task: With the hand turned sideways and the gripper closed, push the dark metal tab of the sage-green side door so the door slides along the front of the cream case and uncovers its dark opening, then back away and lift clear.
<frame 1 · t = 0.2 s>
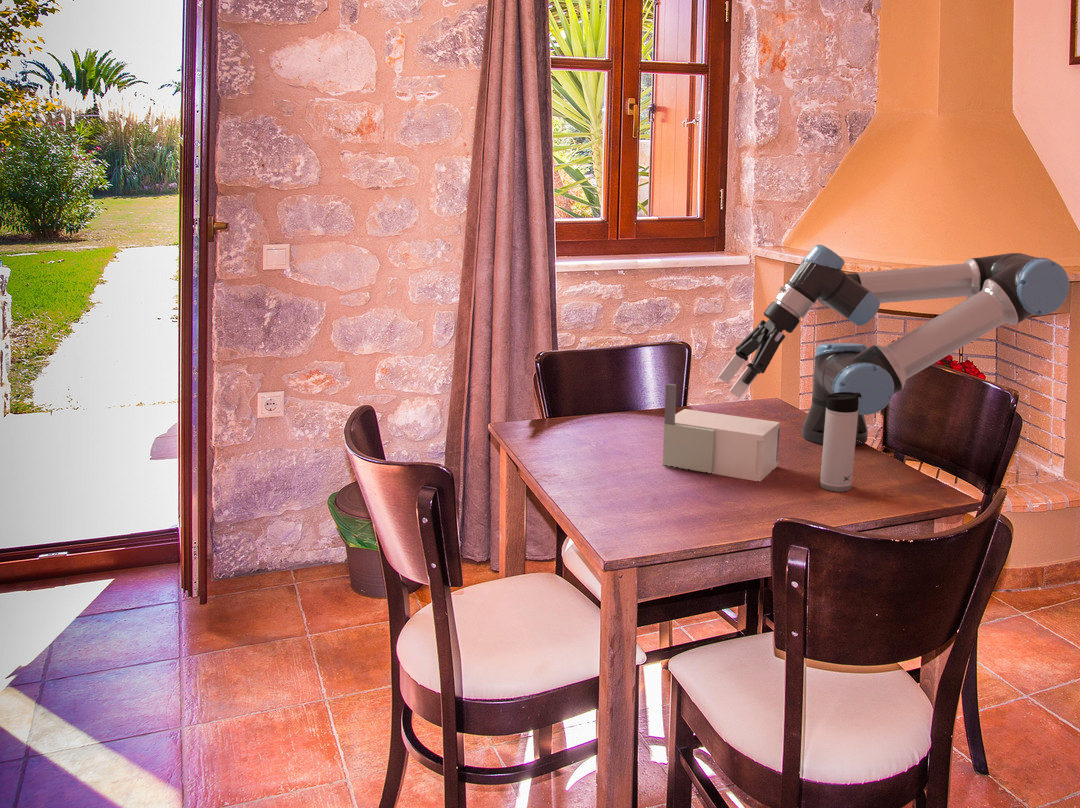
hand: (728, 387, 223), 16 cm above the table, tool tilted 35°, fingers open, 13 cm apart
side door: (689, 428, 212), point 10 cm above the table, slide at 0.0 cm
cream case: (719, 465, 218), on the table
travel mug: (836, 488, 205), on the table
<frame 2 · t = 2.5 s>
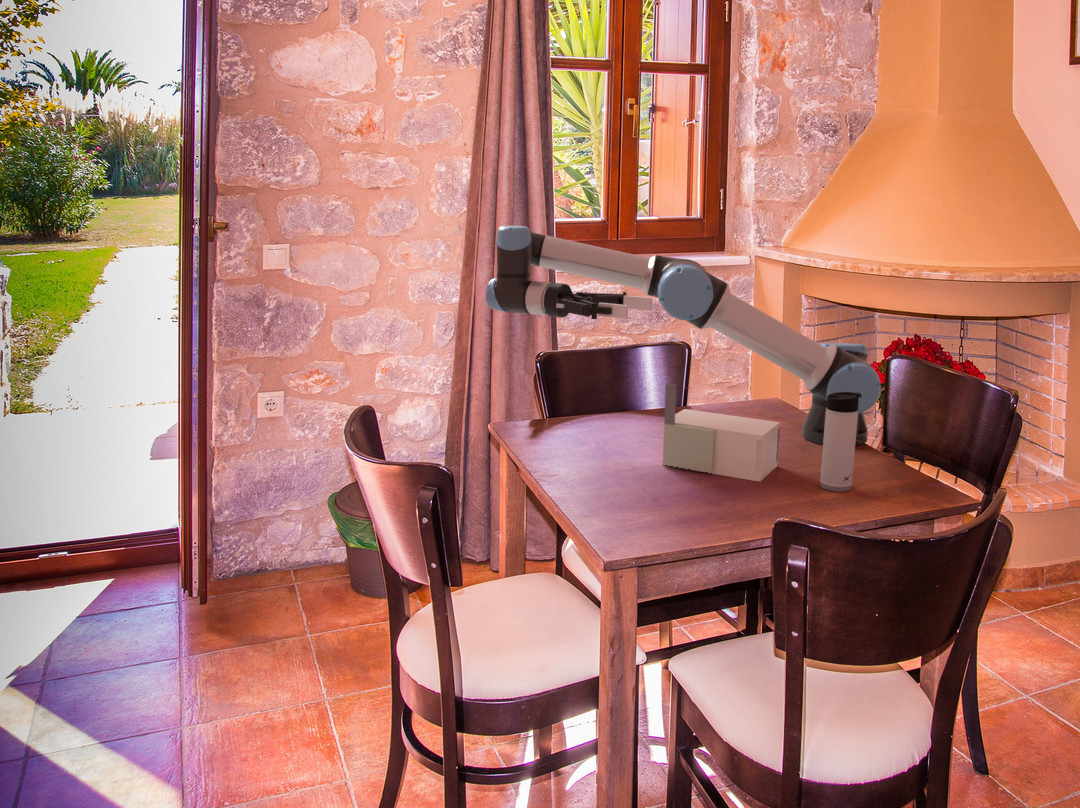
hand: (639, 308, 212), 34 cm above the table, tool horizontal, fingers open, 12 cm apart
nothing on the table moved.
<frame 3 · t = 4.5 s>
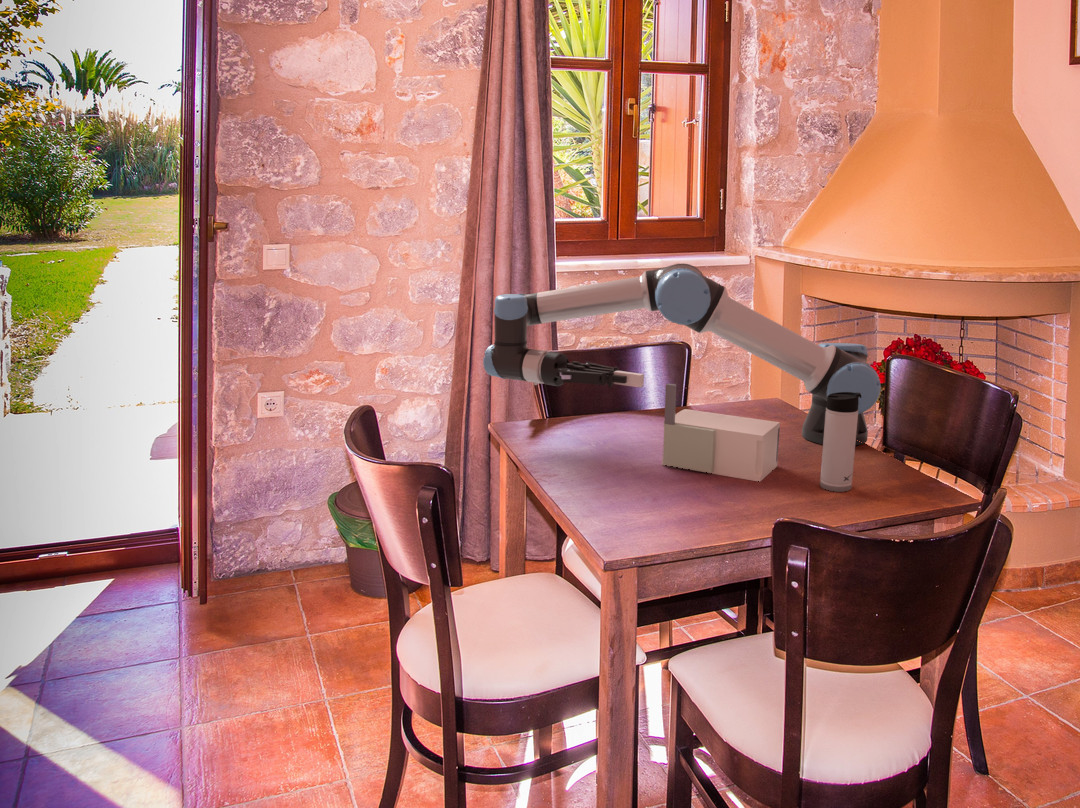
hand: (642, 380, 215), 19 cm above the table, tool horizontal, fingers closed
nothing on the table moved.
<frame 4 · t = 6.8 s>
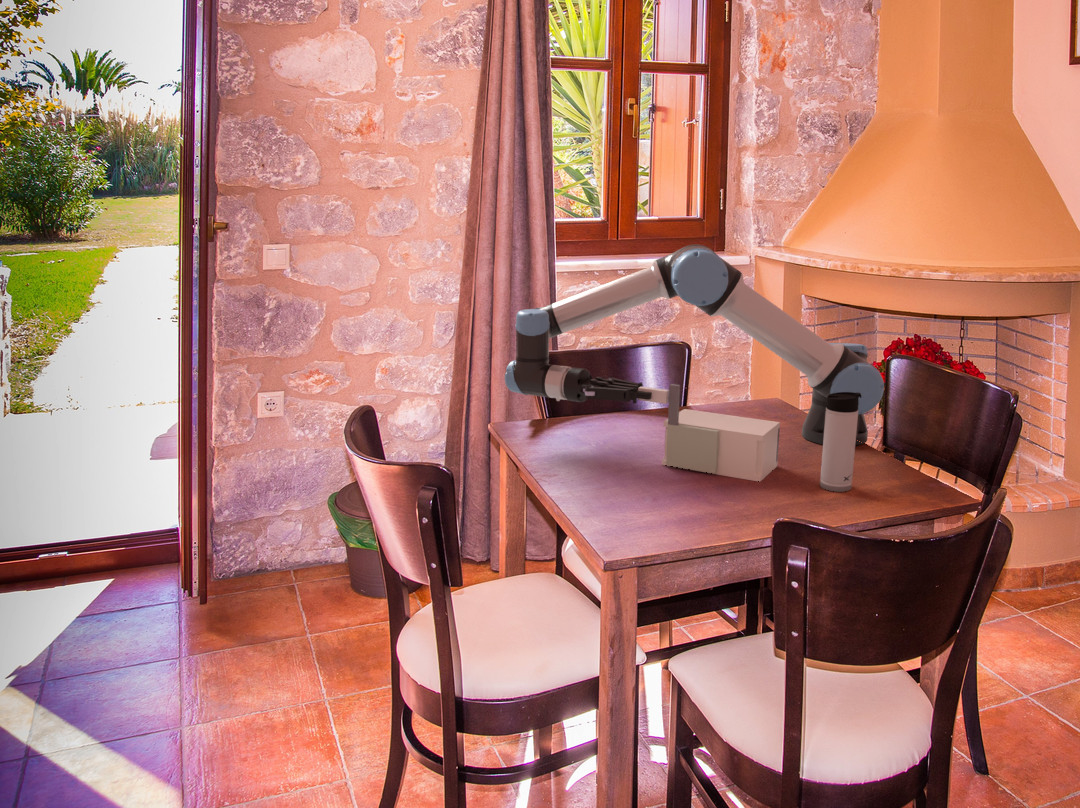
hand: (667, 396, 213), 16 cm above the table, tool horizontal, fingers closed
side door: (693, 428, 212), point 10 cm above the table, slide at 0.8 cm, touching gripper
everything else where it was.
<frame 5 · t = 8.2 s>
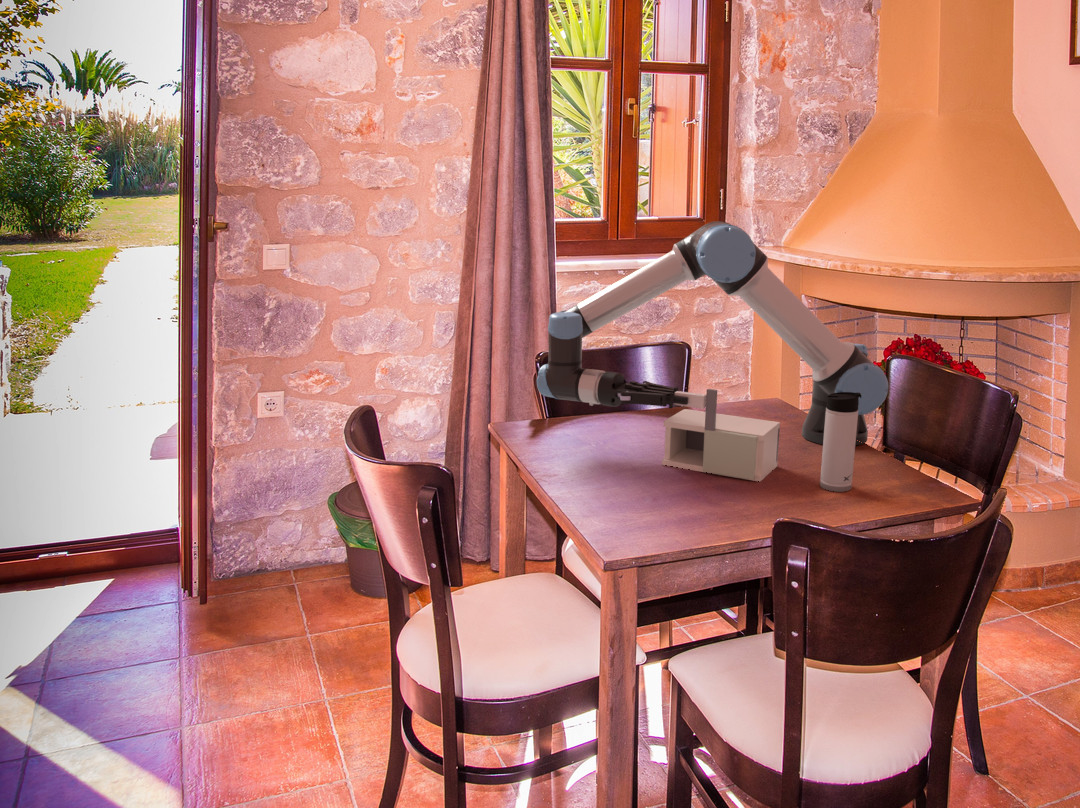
hand: (704, 401, 209), 16 cm above the table, tool horizontal, fingers closed
side door: (730, 434, 208), point 10 cm above the table, slide at 9.2 cm, touching gripper
everything else where it was.
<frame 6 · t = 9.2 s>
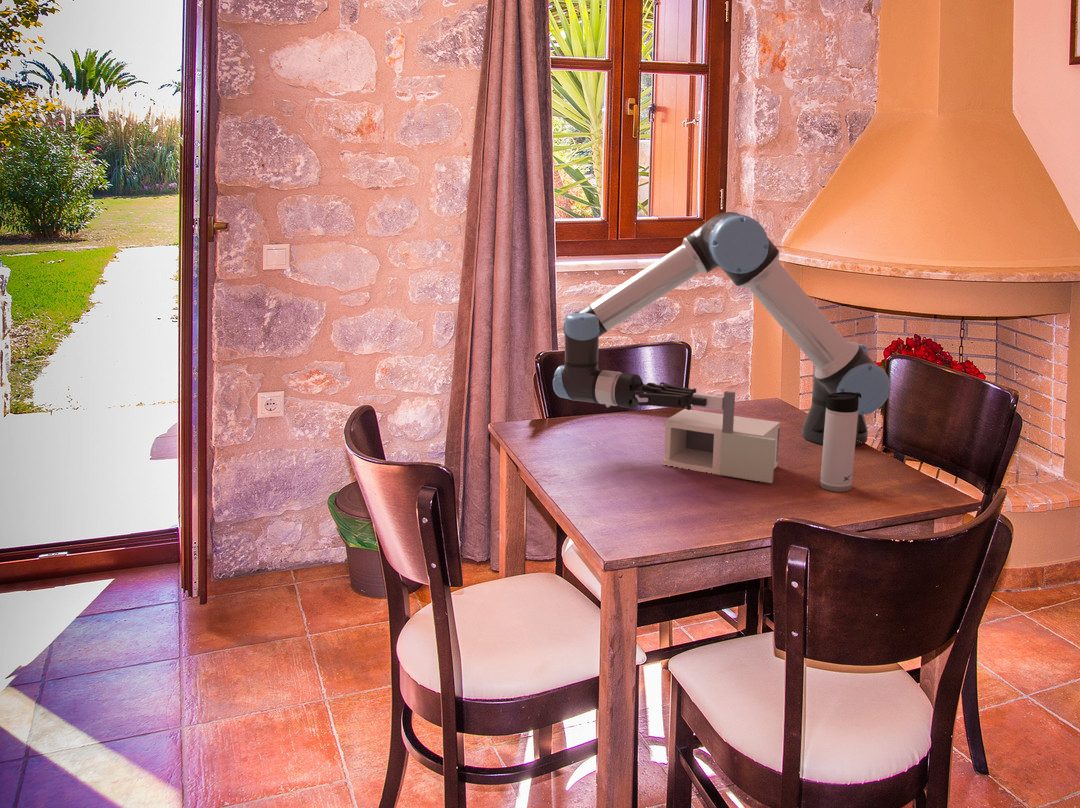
hand: (723, 403, 207), 16 cm above the table, tool horizontal, fingers closed
side door: (748, 436, 206), point 10 cm above the table, slide at 13.0 cm, touching gripper
everything else where it was.
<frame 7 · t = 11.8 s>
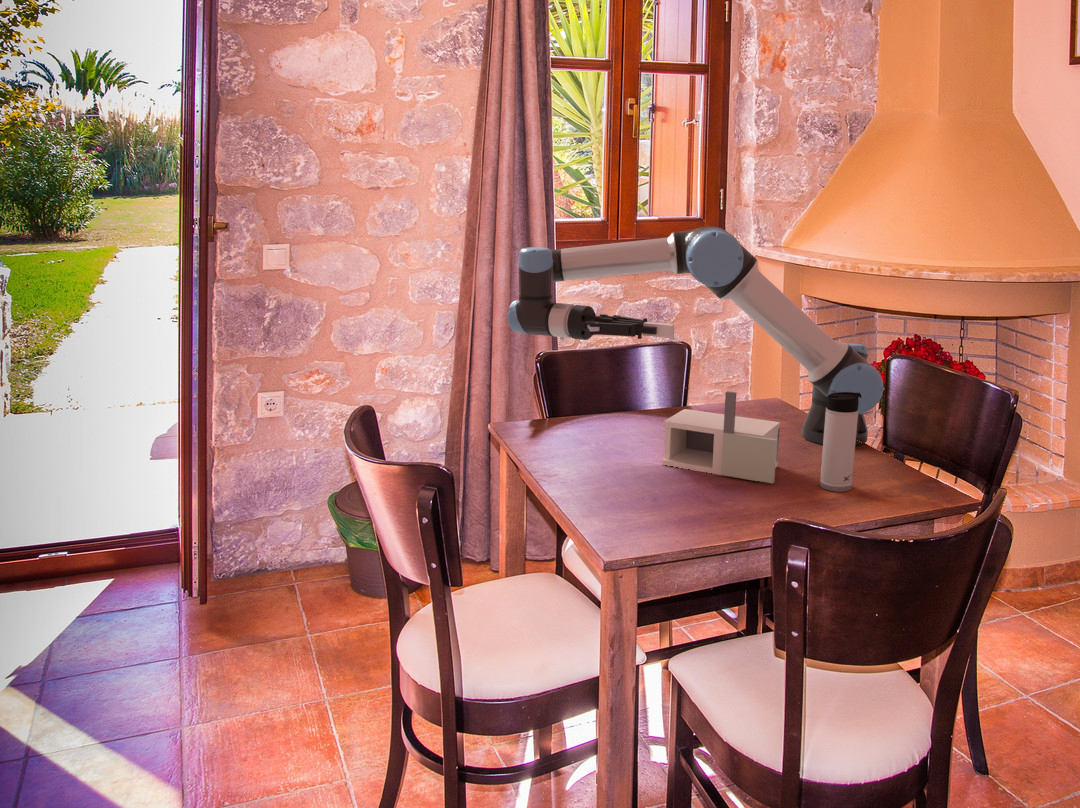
hand: (672, 331, 210), 30 cm above the table, tool horizontal, fingers closed
side door: (749, 437, 206), point 10 cm above the table, slide at 13.3 cm
everything else where it was.
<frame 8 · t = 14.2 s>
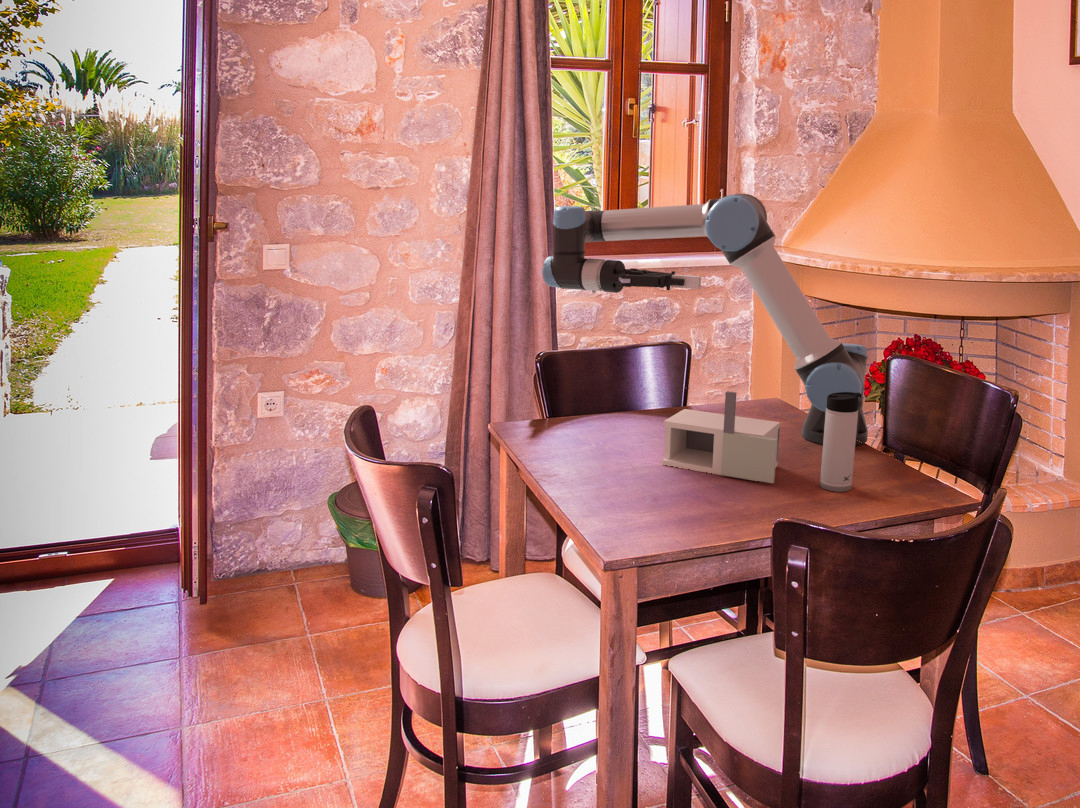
hand: (699, 282, 223), 38 cm above the table, tool horizontal, fingers closed
nothing on the table moved.
at the end: side door slide at 13.3 cm; travel mug moved 0.2 cm from its start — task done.
